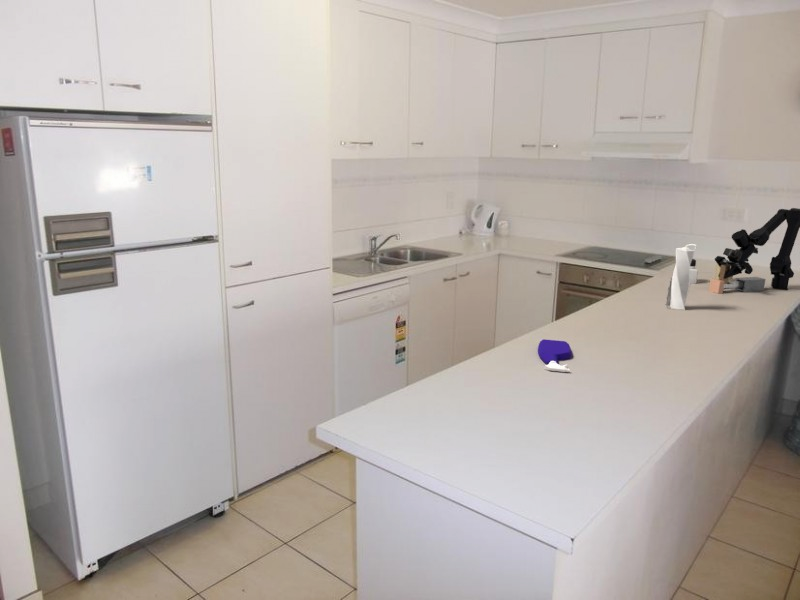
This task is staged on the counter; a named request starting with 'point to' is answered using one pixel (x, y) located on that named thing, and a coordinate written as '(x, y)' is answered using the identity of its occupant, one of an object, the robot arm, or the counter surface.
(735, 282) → the brown and silver piece
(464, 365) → the counter surface
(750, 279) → the steel block
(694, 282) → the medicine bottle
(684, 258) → the skyscraper
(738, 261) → the robot arm
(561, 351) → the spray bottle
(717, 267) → the coffee cup
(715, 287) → the socket block
